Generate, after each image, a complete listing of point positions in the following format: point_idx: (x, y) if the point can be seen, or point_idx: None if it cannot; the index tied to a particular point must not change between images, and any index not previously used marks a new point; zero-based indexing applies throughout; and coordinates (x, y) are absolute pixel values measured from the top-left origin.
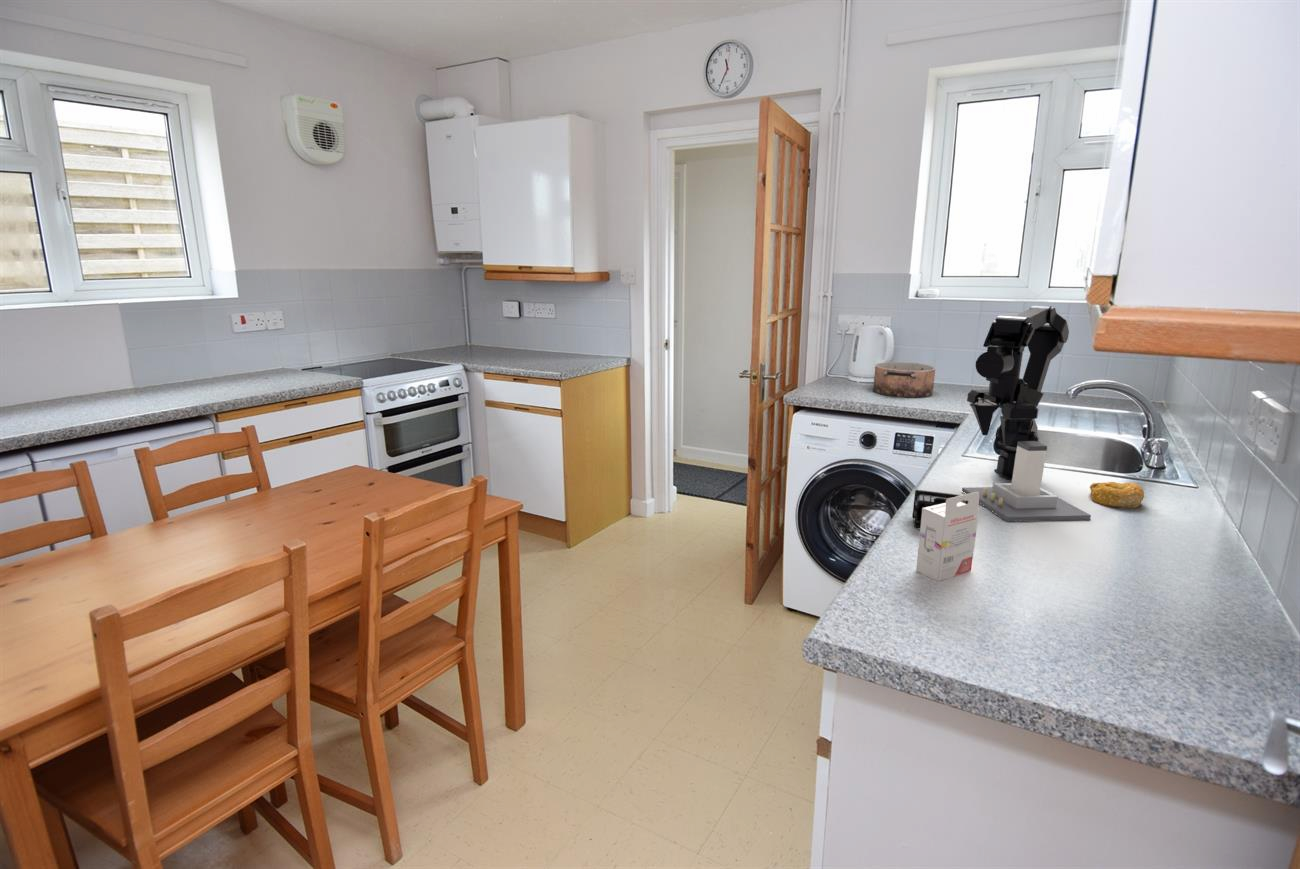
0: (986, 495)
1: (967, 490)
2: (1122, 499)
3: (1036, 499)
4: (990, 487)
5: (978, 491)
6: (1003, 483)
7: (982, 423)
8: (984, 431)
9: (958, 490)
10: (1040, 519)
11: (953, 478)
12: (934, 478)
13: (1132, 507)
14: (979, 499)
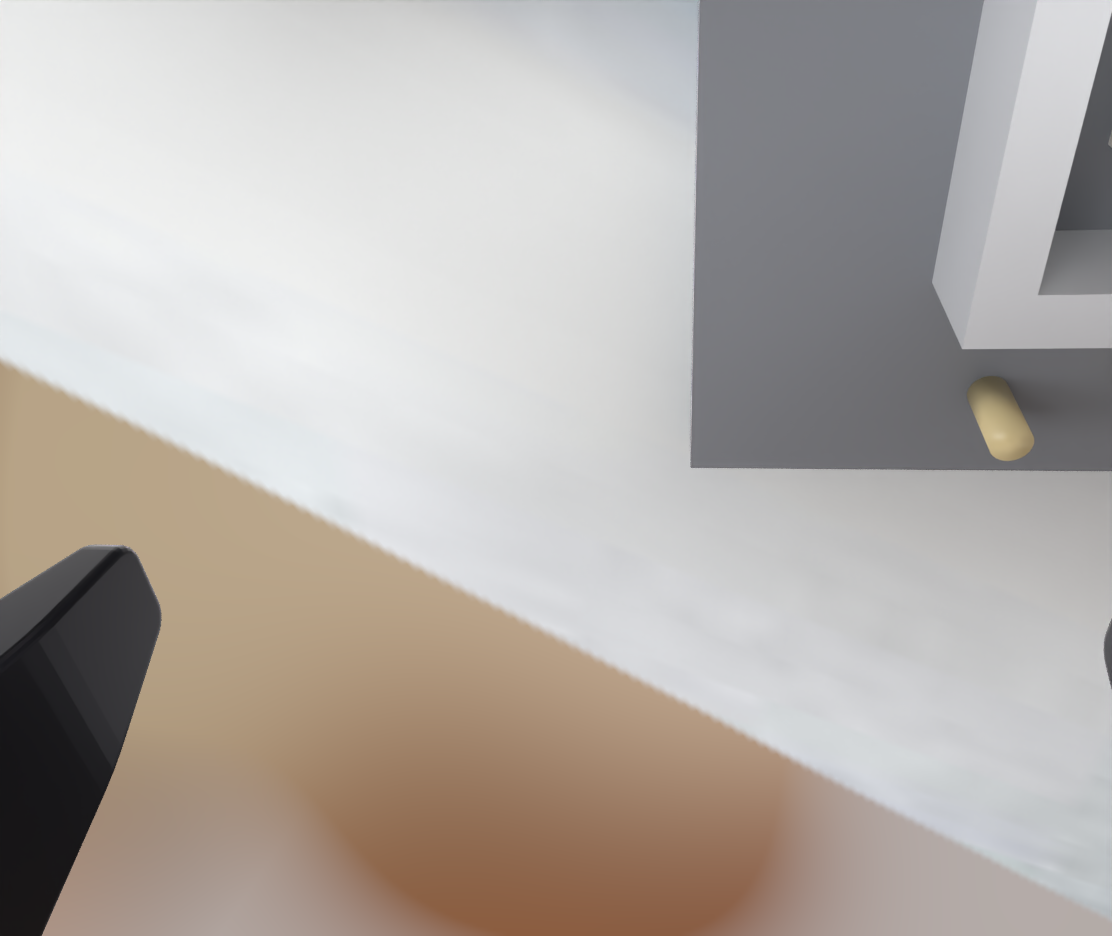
0: (1012, 397)
1: (780, 462)
2: None
3: None
4: (707, 181)
5: (825, 379)
6: (997, 223)
7: (16, 916)
8: (116, 676)
9: (648, 450)
10: None
11: (272, 335)
12: (309, 495)
13: None
14: (1034, 466)
